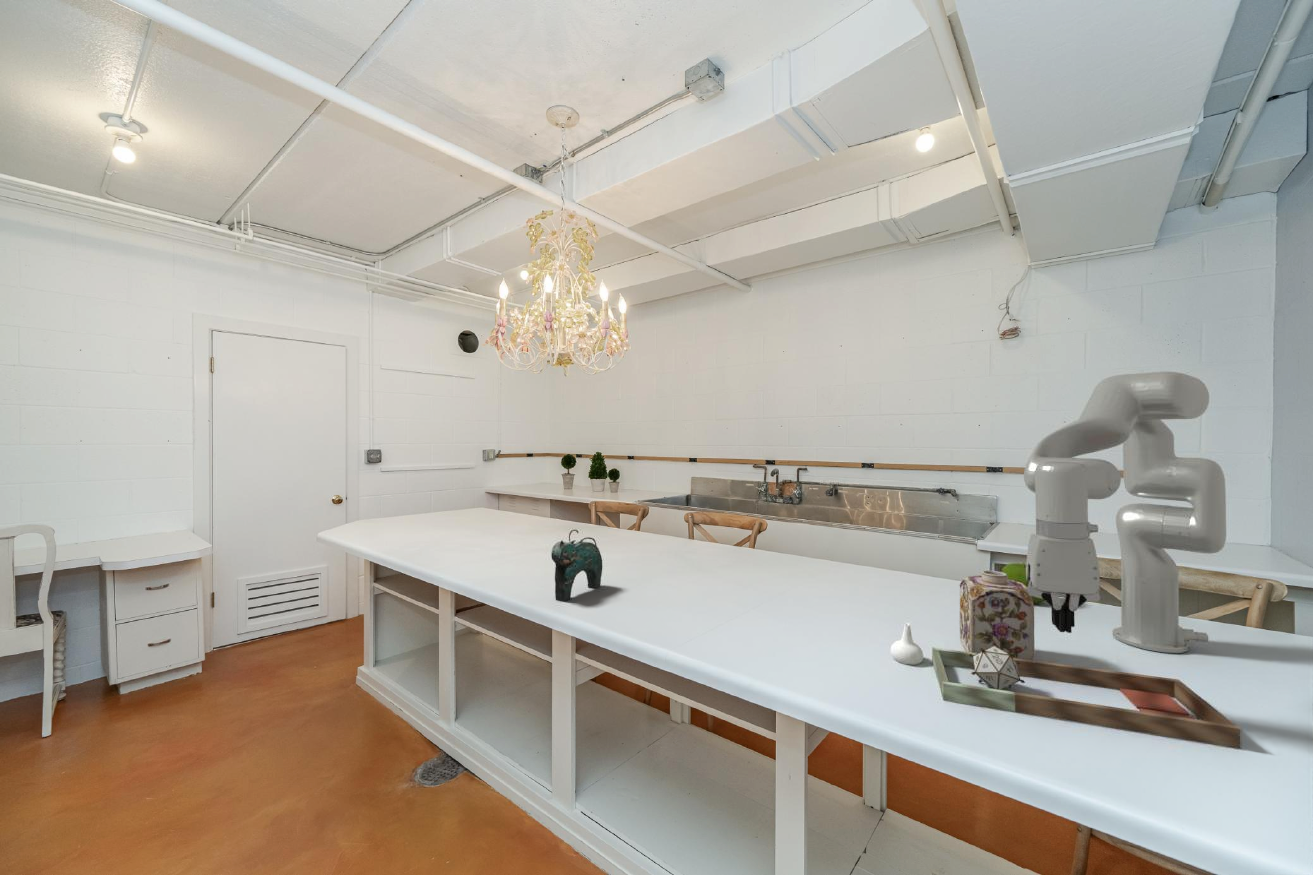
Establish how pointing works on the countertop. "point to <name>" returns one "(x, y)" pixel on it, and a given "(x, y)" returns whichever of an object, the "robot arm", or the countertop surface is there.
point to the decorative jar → (996, 615)
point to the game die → (996, 667)
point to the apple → (1018, 576)
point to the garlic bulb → (906, 649)
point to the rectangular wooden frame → (1141, 690)
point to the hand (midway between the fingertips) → (1063, 629)
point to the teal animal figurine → (575, 565)
